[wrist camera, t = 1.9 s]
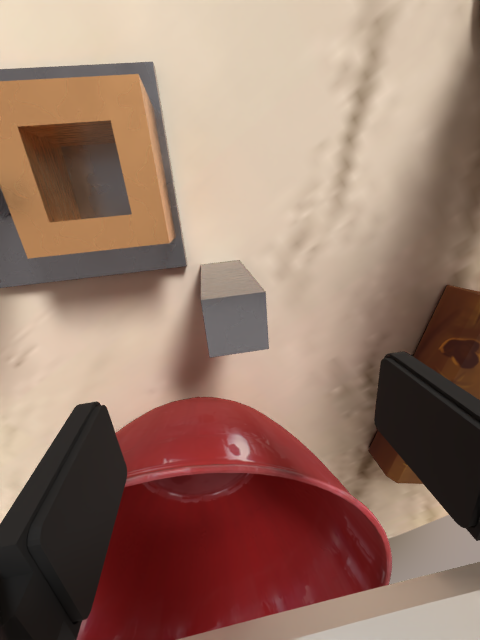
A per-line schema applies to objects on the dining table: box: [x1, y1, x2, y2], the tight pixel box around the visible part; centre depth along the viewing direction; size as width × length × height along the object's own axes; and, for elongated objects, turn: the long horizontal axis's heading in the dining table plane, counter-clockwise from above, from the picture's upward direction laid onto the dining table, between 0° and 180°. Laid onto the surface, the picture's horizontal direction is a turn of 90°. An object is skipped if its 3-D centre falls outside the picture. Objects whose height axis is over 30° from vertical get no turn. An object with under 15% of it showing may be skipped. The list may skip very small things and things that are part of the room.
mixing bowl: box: [77, 397, 392, 640], centre depth 26 cm, size 28×28×15 cm
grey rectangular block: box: [201, 260, 269, 357], centre depth 21 cm, size 4×4×11 cm
